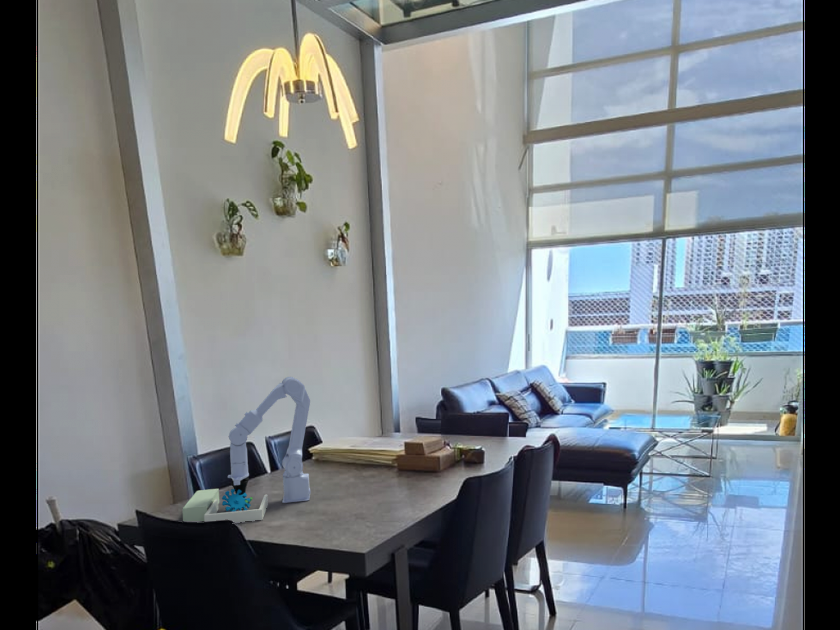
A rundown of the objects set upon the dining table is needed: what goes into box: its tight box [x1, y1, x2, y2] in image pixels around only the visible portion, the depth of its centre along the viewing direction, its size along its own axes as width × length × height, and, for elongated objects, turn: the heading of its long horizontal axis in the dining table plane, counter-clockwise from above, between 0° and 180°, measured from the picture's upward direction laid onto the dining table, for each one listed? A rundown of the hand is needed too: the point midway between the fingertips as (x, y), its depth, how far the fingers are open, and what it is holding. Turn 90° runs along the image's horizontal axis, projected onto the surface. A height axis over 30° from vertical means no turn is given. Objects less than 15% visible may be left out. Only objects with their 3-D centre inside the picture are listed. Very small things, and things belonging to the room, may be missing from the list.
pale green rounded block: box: [182, 488, 220, 522], centre depth 205 cm, size 8×22×5 cm, turn 9°
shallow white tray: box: [204, 494, 269, 524], centre depth 200 cm, size 18×18×4 cm
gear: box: [221, 488, 253, 512], centre depth 203 cm, size 11×6×10 cm
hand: (241, 500), depth 208 cm, fingers closed
